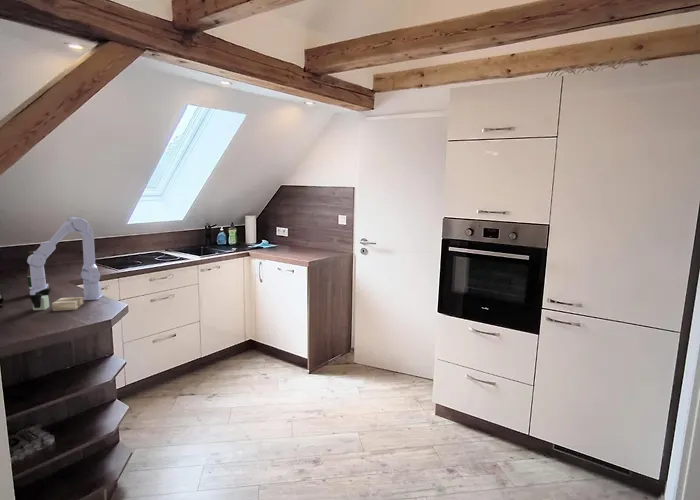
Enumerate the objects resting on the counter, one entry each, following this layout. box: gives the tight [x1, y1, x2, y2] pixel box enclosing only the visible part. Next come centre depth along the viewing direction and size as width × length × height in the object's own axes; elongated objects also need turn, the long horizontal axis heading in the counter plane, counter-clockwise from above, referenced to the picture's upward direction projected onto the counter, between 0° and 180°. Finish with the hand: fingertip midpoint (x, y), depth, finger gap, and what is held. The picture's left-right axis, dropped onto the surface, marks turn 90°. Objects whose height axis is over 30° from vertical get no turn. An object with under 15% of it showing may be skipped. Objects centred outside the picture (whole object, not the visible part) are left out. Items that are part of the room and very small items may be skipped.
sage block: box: [32, 295, 50, 311], centre depth 214 cm, size 5×5×6 cm
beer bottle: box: [26, 250, 39, 294], centre depth 237 cm, size 8×8×24 cm
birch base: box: [51, 296, 84, 312], centre depth 217 cm, size 10×10×4 cm
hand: (41, 305), depth 214 cm, fingers open, 7 cm apart
